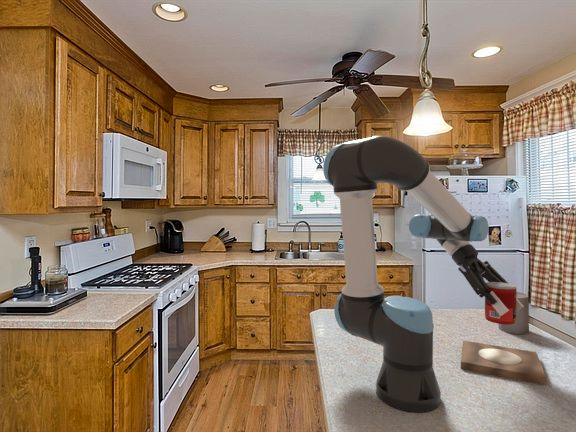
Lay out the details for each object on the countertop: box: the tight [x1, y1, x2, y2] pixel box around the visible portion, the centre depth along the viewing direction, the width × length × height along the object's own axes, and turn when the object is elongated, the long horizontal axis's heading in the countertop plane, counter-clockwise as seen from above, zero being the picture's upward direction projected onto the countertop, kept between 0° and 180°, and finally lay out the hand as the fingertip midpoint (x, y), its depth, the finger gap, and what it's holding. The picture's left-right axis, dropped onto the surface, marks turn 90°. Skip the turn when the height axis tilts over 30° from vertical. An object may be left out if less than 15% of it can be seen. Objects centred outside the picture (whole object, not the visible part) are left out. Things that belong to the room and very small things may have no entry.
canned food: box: [484, 281, 517, 325], centre depth 103 cm, size 8×8×11 cm
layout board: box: [460, 340, 547, 386], centre depth 103 cm, size 20×18×2 cm
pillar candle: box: [498, 291, 530, 335], centre depth 130 cm, size 10×10×15 cm
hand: (512, 311), depth 100 cm, fingers closed on canned food, 8 cm apart
